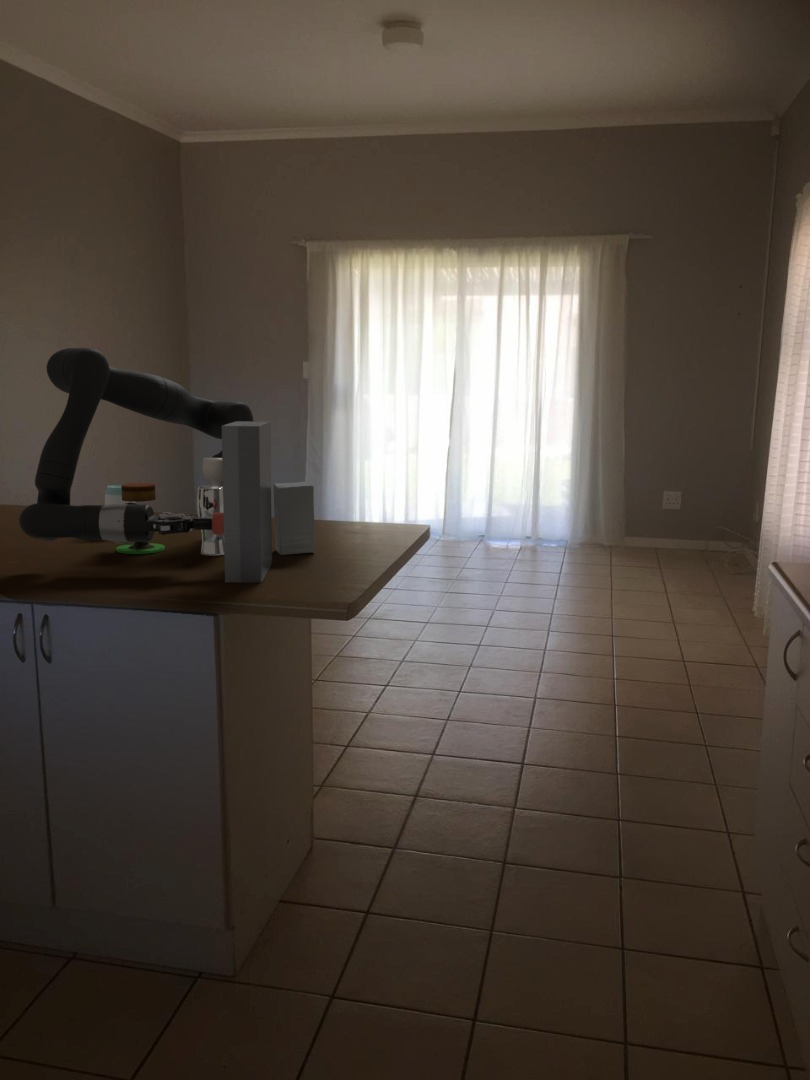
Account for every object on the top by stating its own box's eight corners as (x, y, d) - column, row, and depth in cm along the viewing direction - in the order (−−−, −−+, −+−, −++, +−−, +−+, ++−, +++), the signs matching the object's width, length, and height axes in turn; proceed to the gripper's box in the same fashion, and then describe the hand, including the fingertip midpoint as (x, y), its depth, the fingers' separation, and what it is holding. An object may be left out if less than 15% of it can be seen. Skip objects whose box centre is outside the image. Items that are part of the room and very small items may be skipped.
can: (100, 534, 220) (98, 486, 218) (119, 530, 227) (117, 483, 225) (123, 536, 218) (121, 488, 216) (141, 532, 224) (140, 485, 222)
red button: (212, 536, 176) (211, 514, 175) (216, 532, 180) (215, 511, 180) (237, 536, 176) (237, 514, 175) (240, 532, 181) (240, 511, 180)
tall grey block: (225, 582, 171) (221, 425, 166) (239, 563, 189) (236, 421, 183) (261, 582, 171) (259, 426, 166) (272, 563, 189) (270, 421, 184)
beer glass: (203, 557, 194) (201, 489, 192) (195, 551, 200) (193, 485, 198) (234, 554, 198) (232, 488, 195) (225, 549, 204) (223, 484, 201)
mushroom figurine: (149, 543, 210) (146, 480, 208) (176, 550, 201) (174, 485, 199) (101, 549, 202) (98, 483, 199) (128, 557, 193) (125, 489, 191)
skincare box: (309, 548, 206) (308, 480, 204) (316, 554, 200) (315, 484, 197) (273, 550, 204) (272, 481, 201) (278, 556, 197) (278, 485, 194)
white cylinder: (202, 481, 174) (202, 458, 173) (206, 478, 178) (206, 456, 178) (228, 481, 174) (227, 459, 173) (231, 478, 179) (231, 457, 178)
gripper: (116, 509, 170) (207, 510, 171) (135, 499, 183) (219, 500, 184) (118, 547, 171) (208, 548, 172) (136, 535, 184) (220, 536, 185)
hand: (213, 523), depth 178 cm, fingers closed
